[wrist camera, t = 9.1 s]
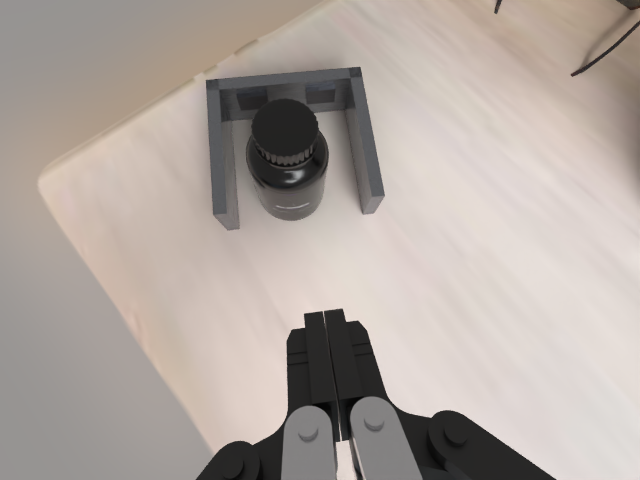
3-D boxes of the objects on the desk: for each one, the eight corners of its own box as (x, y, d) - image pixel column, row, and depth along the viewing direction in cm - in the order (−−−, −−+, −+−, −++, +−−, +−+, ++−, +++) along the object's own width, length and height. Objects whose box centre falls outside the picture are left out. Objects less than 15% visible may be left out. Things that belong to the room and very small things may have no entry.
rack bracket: (373, 213, 33) (384, 195, 29) (227, 230, 33) (213, 214, 28) (353, 99, 37) (360, 66, 32) (220, 112, 36) (206, 80, 31)
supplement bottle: (288, 235, 33) (277, 190, 21) (246, 189, 34) (213, 121, 22) (337, 194, 34) (352, 130, 22) (295, 151, 35) (288, 68, 23)
